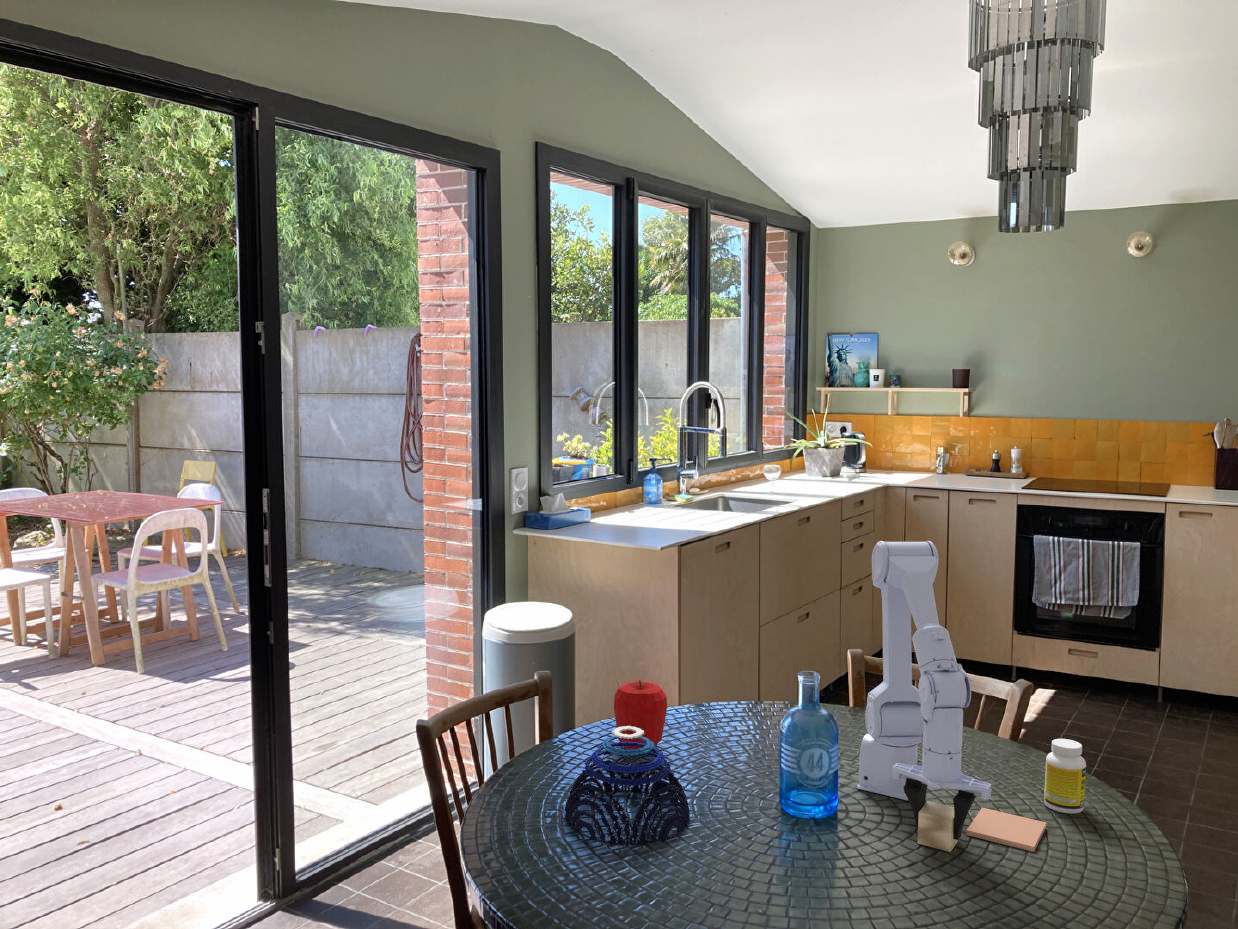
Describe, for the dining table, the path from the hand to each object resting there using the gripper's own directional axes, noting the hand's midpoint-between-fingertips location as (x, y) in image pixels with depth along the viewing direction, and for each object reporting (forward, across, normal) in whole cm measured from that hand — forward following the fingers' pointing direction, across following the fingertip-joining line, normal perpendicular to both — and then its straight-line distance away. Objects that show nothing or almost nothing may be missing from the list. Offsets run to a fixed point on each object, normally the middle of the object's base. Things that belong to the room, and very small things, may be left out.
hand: (938, 832), depth 154 cm
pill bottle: (+2, +14, +25) cm, 29 cm away
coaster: (+2, +8, +10) cm, 13 cm away
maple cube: (+1, 0, 0) cm, 1 cm away
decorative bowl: (+2, -45, -19) cm, 49 cm away
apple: (+2, -59, +7) cm, 59 cm away
